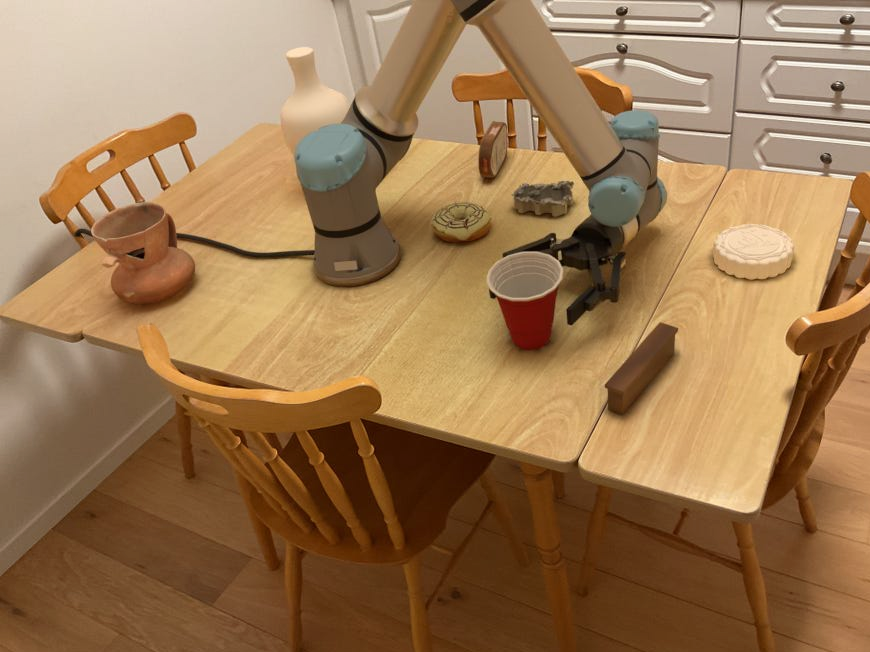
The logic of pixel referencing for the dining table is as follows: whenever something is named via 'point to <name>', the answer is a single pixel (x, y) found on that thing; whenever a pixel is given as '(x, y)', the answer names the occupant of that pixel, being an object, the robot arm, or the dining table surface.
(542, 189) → the egg carton
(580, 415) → the dining table surface
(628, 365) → the walnut rail
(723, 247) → the mooncake
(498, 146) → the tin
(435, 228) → the decorated donut
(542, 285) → the plastic cup
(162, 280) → the ceramic jug
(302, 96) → the vase
